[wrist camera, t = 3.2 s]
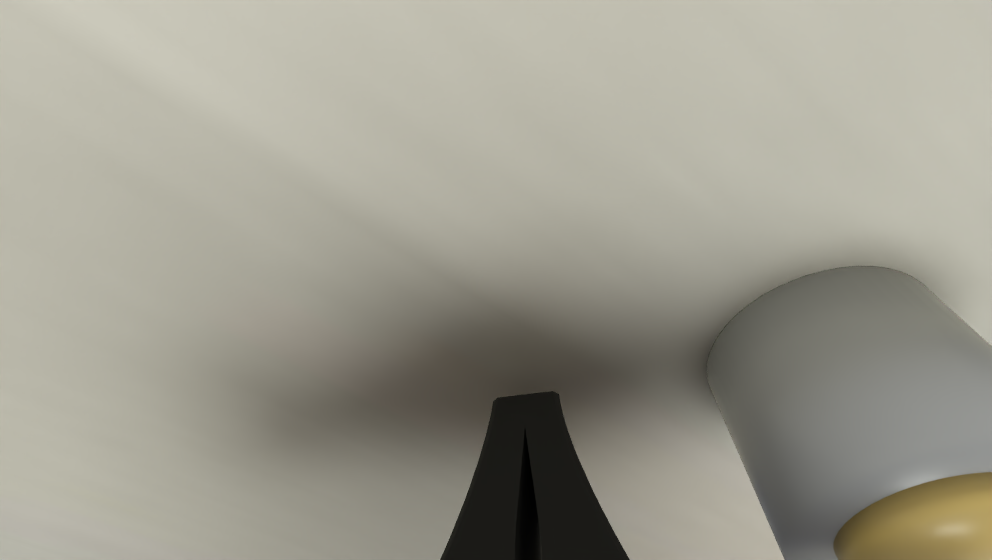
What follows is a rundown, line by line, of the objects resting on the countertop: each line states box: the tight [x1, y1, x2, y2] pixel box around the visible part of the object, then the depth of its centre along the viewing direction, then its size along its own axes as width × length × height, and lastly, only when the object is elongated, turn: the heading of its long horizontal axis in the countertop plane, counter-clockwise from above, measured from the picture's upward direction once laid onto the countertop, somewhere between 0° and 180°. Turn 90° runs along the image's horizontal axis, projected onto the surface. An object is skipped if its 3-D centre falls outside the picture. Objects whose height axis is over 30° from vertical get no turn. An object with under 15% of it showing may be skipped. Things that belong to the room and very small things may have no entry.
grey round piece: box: [707, 266, 992, 560], centre depth 10 cm, size 5×5×4 cm
